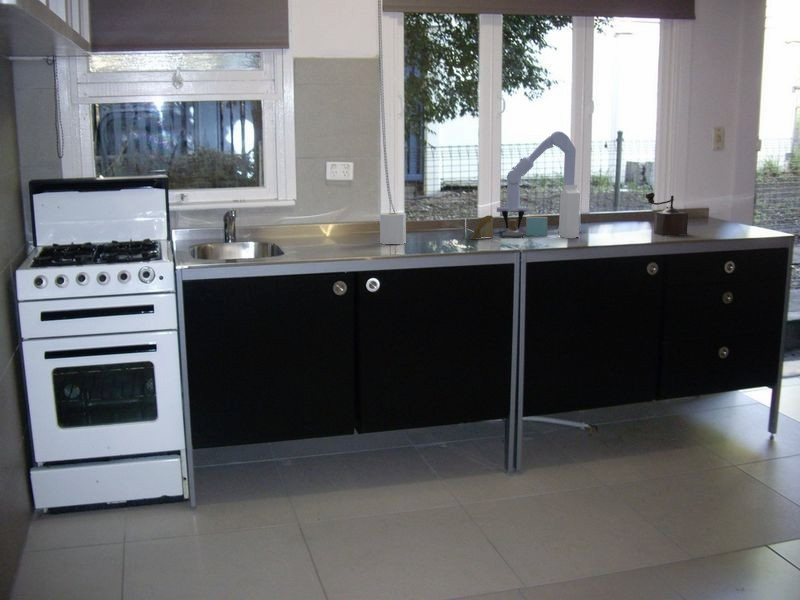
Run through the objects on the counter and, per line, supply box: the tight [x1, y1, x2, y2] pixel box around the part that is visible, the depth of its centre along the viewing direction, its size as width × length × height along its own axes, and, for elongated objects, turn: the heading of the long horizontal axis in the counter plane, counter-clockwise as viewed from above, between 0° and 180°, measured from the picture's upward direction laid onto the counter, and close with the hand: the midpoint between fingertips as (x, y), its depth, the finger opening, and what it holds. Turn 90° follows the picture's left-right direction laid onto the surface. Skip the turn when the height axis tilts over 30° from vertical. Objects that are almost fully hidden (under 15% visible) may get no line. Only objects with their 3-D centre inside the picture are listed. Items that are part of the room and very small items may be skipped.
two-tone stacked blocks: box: [506, 219, 519, 232], centre depth 384 cm, size 5×12×5 cm, turn 171°
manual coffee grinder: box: [644, 191, 689, 236], centre depth 372 cm, size 16×11×18 cm
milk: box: [558, 184, 581, 239], centre depth 364 cm, size 6×6×22 cm
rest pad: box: [501, 231, 525, 239], centre depth 372 cm, size 9×12×1 cm
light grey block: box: [379, 212, 407, 245], centre depth 351 cm, size 10×10×12 cm
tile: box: [525, 216, 548, 237], centre depth 372 cm, size 9×2×8 cm, turn 81°
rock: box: [471, 214, 494, 240], centre depth 365 cm, size 11×9×10 cm
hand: (512, 228), depth 388 cm, fingers open, 4 cm apart
